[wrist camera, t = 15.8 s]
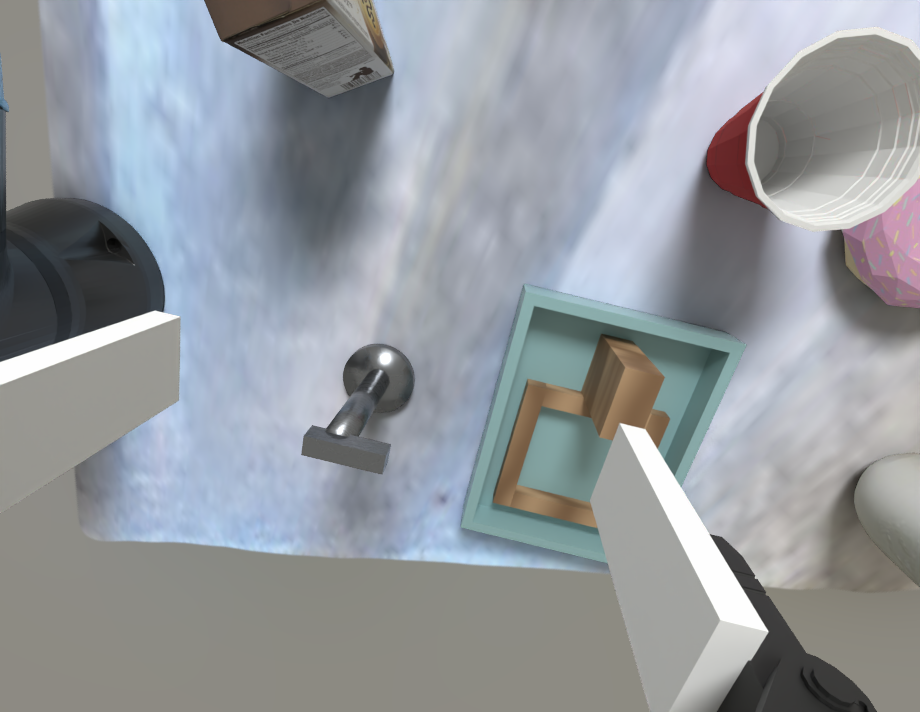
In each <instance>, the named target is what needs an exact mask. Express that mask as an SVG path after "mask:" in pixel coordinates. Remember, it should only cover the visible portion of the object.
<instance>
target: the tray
mask: <svg viewBox="0 0 920 712" xmlns="http://www.w3.org/2000/svg"><path fill="white" fill-rule="evenodd" d="M601 333H602V334H606V335H610V336H614V337H618V338H622V339H627V340H631V341H633V342H634V343H635V344H636V345H637V346H638V347H639V348H640V350H641V351H642V352H643V353H644V354H645V355H646V356H647V357H648V359H649V360H650V361H651V362H652V363H653V364H654V365H655V366H656V368H657V369H658V370H659V371H660V372H661V373H662V374H663V375H664V377H665V378H664V381H663V383H662V386H661V388H660V391H659V393H658V396H657V398H656V400H655V403H654V405H653V408H652V409H655V410H660V411H664V412H666V414H667V415H668V416H669V418H670V421H669V424H668V426H667V428H666V431H665V433H664V435H663V438H662V440H661V442H660V445H659V447H658V451H659V452H660V454H661V456H662V457H663V459H664V461H665V462H666V464H667V466H668V467H669V469H670V471H671V472H672V474H673V475H674V477H675V479H676V480H677V482H678V484H679V485H680V487H681V486H682V484H683V482H684V480H685V478H686V476H687V473H688V471H689V469H690V467H691V465H692V463H693V460H694V458H695V456H696V454H697V452H698V450H699V447H700V445H701V443H702V441H703V439H704V436H705V434H706V432H707V430H708V428H709V426H710V423H711V421H712V419H713V417H714V415H715V413H716V410H717V408H718V406H719V404H720V402H721V400H722V397H723V395H724V393H725V391H726V389H727V387H728V384H729V382H730V380H731V378H732V376H733V374H734V371H735V369H736V367H737V365H738V363H739V360H740V358H741V356H742V354H743V352H744V350H745V347H746V344H745V343H743V342H741V341H740V340H738V339H736V338H735V337H733V336H732V335H730V334H728V333H727V332H723V331H719V330H715V329H711V328H707V327H702V326H698V325H694V324H690V323H686V322H682V321H677V320H673V319H669V318H665V317H661V316H657V315H652V314H648V313H644V312H640V311H636V310H632V309H627V308H623V307H619V306H615V305H611V304H607V303H602V302H598V301H594V300H590V299H586V298H582V297H578V296H573V295H569V294H565V293H561V292H557V291H553V290H548V289H544V288H540V287H536V286H532V285H528V284H524V285H523V289H522V293H521V296H520V300H519V304H518V307H517V311H516V314H515V318H514V322H513V325H512V329H511V333H510V336H509V340H508V344H507V347H506V351H505V355H504V358H503V362H502V366H501V369H500V373H499V377H498V380H497V384H496V388H495V391H494V395H493V399H492V402H491V406H490V410H489V413H488V417H487V420H486V424H485V428H484V431H483V435H482V439H481V442H480V446H479V450H478V453H477V457H476V461H475V464H474V468H473V472H472V475H471V479H470V483H469V486H468V490H467V494H466V497H465V501H464V505H463V513H462V521H461V528H465V529H469V530H473V531H477V532H481V533H485V534H490V535H494V536H498V537H502V538H506V539H510V540H514V541H518V542H522V543H526V544H530V545H534V546H539V547H543V548H547V549H551V550H555V551H559V552H563V553H567V554H571V555H575V556H579V557H584V558H588V559H592V560H596V561H600V562H604V563H607V559H606V555H605V552H604V548H603V545H602V541H601V538H600V534H599V531H598V528H595V527H591V526H586V525H582V524H578V523H574V522H570V521H566V520H562V519H558V518H554V517H550V516H546V515H541V514H537V513H533V512H529V511H525V510H521V509H517V508H513V507H509V506H505V505H500V504H496V503H493V493H494V489H495V486H496V483H497V479H498V476H499V472H500V469H501V466H502V462H503V459H504V456H505V452H506V449H507V446H508V442H509V439H510V436H511V432H512V429H513V425H514V422H515V419H516V415H517V412H518V409H519V405H520V402H521V399H522V395H523V392H524V388H525V385H526V382H527V379H531V380H536V381H540V382H544V383H548V384H552V385H556V386H560V387H565V388H569V389H573V390H577V391H581V390H582V387H583V384H584V382H585V379H586V376H587V373H588V370H589V367H590V364H591V361H592V358H593V355H594V352H595V350H596V347H597V344H598V341H599V338H600V335H601ZM612 442H613V441H612V440H608V439H604V438H600V437H599V435H598V433H597V430H596V428H595V425H594V423H593V420H592V418H589V417H585V416H581V415H577V414H572V413H568V412H564V411H560V410H556V409H552V408H548V407H544V406H542V407H541V410H540V413H539V416H538V419H537V422H536V426H535V429H534V432H533V435H532V438H531V441H530V445H529V448H528V451H527V454H526V457H525V460H524V464H523V467H522V470H521V473H520V476H519V479H518V483H517V485H521V486H525V487H529V488H533V489H537V490H541V491H545V492H549V493H553V494H557V495H562V496H566V497H570V498H574V499H578V500H582V501H586V502H590V499H591V496H592V494H593V491H594V488H595V486H596V483H597V481H598V478H599V475H600V473H601V470H602V468H603V465H604V462H605V460H606V457H607V455H608V452H609V449H610V447H611V444H612Z"/></svg>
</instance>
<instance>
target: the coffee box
mask: <svg viewBox="0 0 920 712" xmlns="http://www.w3.org/2000/svg"><path fill="white" fill-rule="evenodd" d="M204 1H205V4H206V6H207V8H208V11H209V13H210V16H211V18H212V20H213V23H214V26H215V28H216V30H217V33H218V35H219V37H220V39H221V41H223V42H225V43H228V44H229V45H231V46H233V47H235V48H237V49H239V50H241V51H242V52H244V53H246V54H248V55H250V56H252V57H253V58H255V59H257V60H259V61H261V62H263V63H265V64H267V65H268V66H270V67H272V68H274V69H276V70H278V71H280V72H281V73H283V74H285V75H287V76H289V77H291V78H292V79H294V80H296V81H298V82H300V83H301V84H303V85H305V86H307V87H309V88H311V89H313V90H314V91H316V92H318V93H320V94H322V95H324V96H325V97H327V98H329V97H333V96H335V95H338V94H341V93H344V92H346V91H349V90H352V89H355V88H358V87H360V86H363V85H366V84H368V83H371V82H374V81H377V80H379V79H382V78H385V77H387V76H390V75H392V74H393V73H394V68H393V64H392V61H391V57H390V54H389V51H388V48H387V44H386V41H385V38H384V34H383V31H382V28H381V25H380V21H379V18H378V15H377V11H376V8H375V5H374V2H373V0H204Z"/></svg>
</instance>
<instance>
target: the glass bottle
mask: <svg viewBox="0 0 920 712" xmlns="http://www.w3.org/2000/svg"><path fill="white" fill-rule="evenodd" d="M854 504H855V509H856V513H857V516H858V518H859V520H860V523H861V524H862V526H863V528H864V530H865V531H866V533H867V534H868V535H869V537H870V538H871V539H872V541H873V542H874V543H875V544H876V545H877V546H878V547H879V549H880V550H881V551H882V552H883V553H884V554H885V555H886V556H887V557H888V558H889V559H890V560H891V561H892V562H893V563H895V564H896V565H897V566H898V567H899V568H900V569H901V570H902V571H903V572H904V573H905V574H906V575H907V576H908V577H909V578H910V579H911V580H912V581H913V582H914V583H915V584H916V585H918V586H919V587H920V454H918V453H905V454H897V455H890V456H887V457H884V458H882V459H880V460H878V461H876V462H875V463H873V464H871V465H870V466H869V467H868V468H867V469H866V470H865V471H864V472H863V474H862V475H861V477H860V479H859V481H858V484H857V486H856V489H855V494H854Z"/></svg>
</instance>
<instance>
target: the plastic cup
mask: <svg viewBox="0 0 920 712" xmlns="http://www.w3.org/2000/svg"><path fill="white" fill-rule="evenodd" d="M707 168H708V171H709V174H710V176H711V178H712V180H713V181H714V182H715V183H716V184H717V185H718V186H719V187H720V188H721V189H723V190H726V191H729V192H731V193H732V194H733V195H735V196H738V197H741V198H743V199H746V200H749V201H751V202H754V203H757V204H759V205H761V206H762V207H764V208H767V209H768V210H769V211H771V212H772V213H773V214H774V215H775V216H776V217H777V218H778V219H779V220H781V221H784V222H786V223H789V224H792V225H795V226H798V227H801V228H804V229H807V230H810V231H812V232H816V231H828V230H840V229H850V228H852V227H854V226H856V225H858V224H860V223H862V222H864V221H867V220H869V219H871V218H873V217H875V216H877V215H879V214H881V213H883V212H885V211H886V210H887V209H888V208H889V207H891V206H892V205H893V204H894V203H895V202H896V201H897V200H898V199H899V198H900V197H901V196H902V195H903V194H904V193H905V192H906V191H908V190H909V189H910V188H911V187H912V186H913V185H914V184H915V183H916V181H917V179H918V178H919V176H920V49H919V48H918V46H917V45H916V44H915V43H914V42H913V40H911V39H908V38H906V37H903V36H900V35H898V34H895V33H892V32H890V31H887V30H884V29H882V28H879V27H871V28H861V29H852V30H842V31H836V32H835V33H833V34H831V35H829V36H827V37H825V38H823V39H821V40H820V41H818V42H816V43H814V44H812V45H810V46H808V47H806V48H805V49H803V50H801V51H799V52H798V53H797V54H796V55H795V56H794V57H793V58H792V59H791V61H790V62H789V63H788V64H787V65H786V66H785V67H784V68H783V69H782V70H781V71H780V72H779V74H778V75H777V76H776V77H775V78H774V79H773V80H772V81H771V82H770V83H769V84H768V86H767V87H766V88H765V90H764V92H763V93H761V94H760V95H759V96H758V97H756V98H755V99H754V100H752V101H751V102H750V103H749V104H747V105H746V106H745V107H743V108H742V109H741V110H740V111H739V112H738V113H737V114H736V115H735V116H734V117H732V118H731V119H729V120H728V121H727V122H726V123H725V124H724V125H723V126H722V127H721V128H720V129H719V131H718V132H717V133H716V134H715V136H714V137H713V140H712V142H711V144H710V146H709V148H708V152H707Z"/></svg>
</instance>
